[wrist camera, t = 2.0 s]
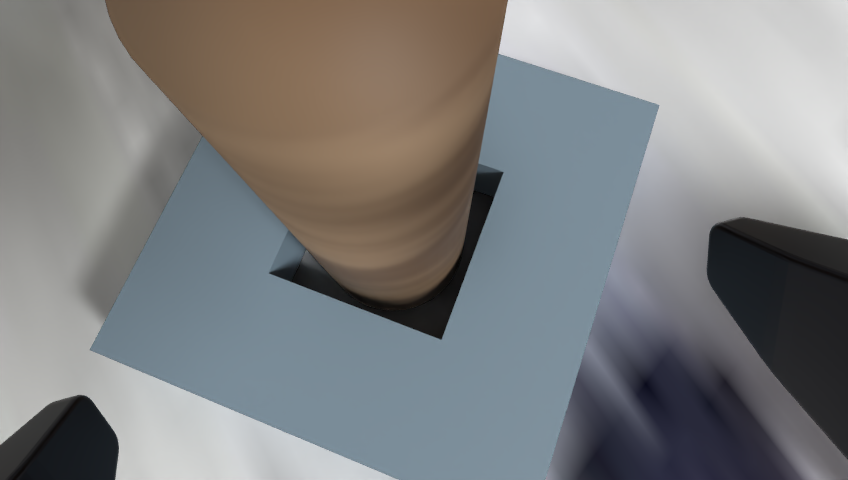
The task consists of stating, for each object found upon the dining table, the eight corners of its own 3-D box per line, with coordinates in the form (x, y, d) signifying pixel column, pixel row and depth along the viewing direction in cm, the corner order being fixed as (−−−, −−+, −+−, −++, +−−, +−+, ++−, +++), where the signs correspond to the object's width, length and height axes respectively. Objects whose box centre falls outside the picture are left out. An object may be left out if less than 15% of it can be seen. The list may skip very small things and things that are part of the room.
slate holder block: (516, 514, 18) (528, 534, 15) (132, 354, 19) (89, 349, 17) (633, 137, 21) (659, 105, 19) (298, 28, 23) (282, -15, 20)
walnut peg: (434, 331, 19) (426, 191, 6) (303, 281, 20) (23, 48, 6) (481, 203, 21) (567, -158, 7) (357, 160, 21) (216, -251, 8)
